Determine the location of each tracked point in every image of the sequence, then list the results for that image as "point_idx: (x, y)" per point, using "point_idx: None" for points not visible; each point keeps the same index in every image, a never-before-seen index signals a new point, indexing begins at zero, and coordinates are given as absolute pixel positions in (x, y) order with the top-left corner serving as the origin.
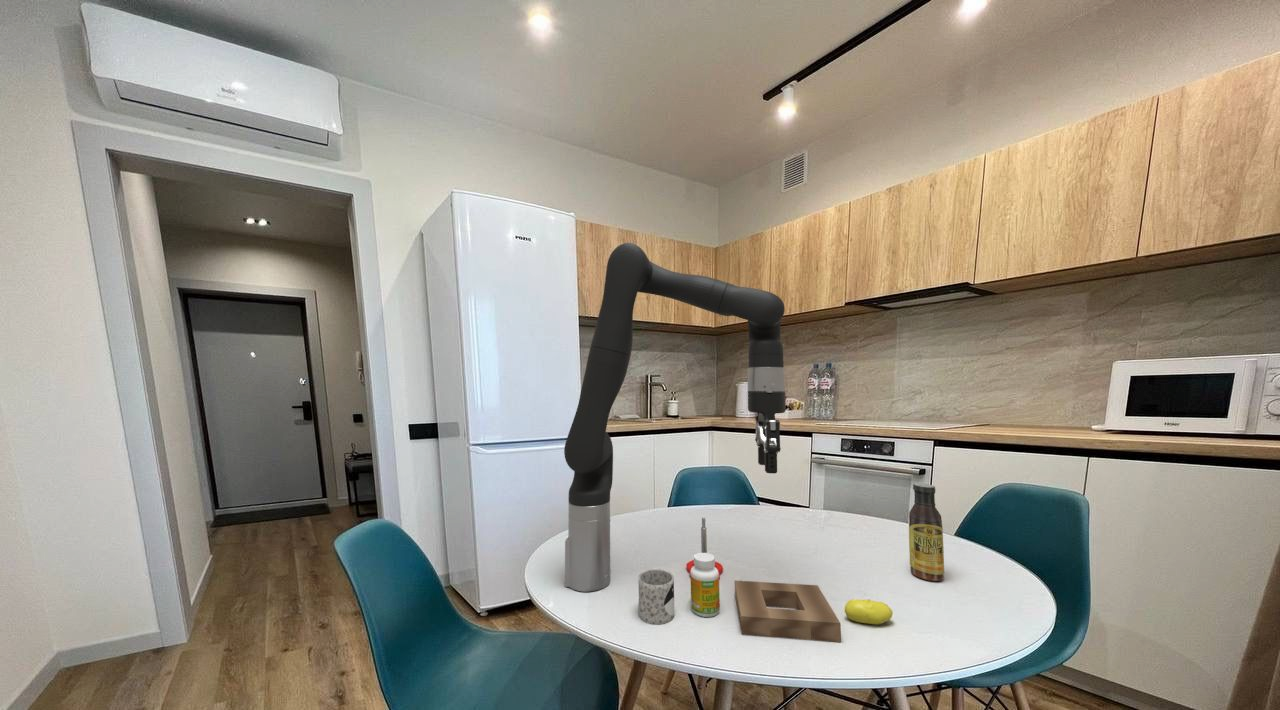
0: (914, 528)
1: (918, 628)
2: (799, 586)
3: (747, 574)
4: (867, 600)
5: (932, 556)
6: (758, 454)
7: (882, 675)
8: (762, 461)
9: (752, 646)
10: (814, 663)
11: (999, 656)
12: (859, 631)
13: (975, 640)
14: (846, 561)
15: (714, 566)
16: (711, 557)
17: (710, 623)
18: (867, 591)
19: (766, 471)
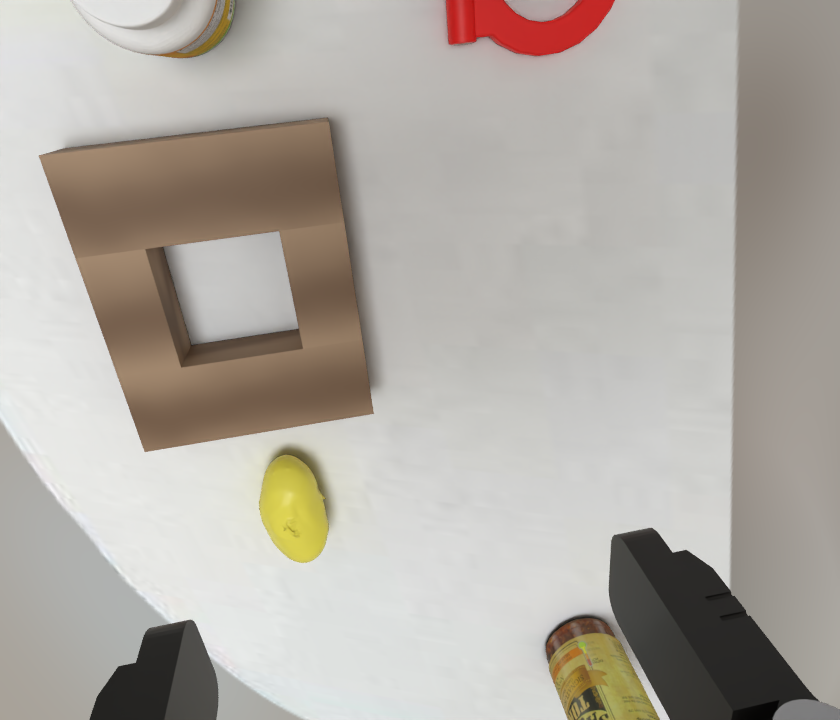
0: None
1: (299, 581)
2: (347, 360)
3: (519, 166)
4: (289, 530)
5: (565, 706)
6: (677, 618)
7: (53, 487)
8: (628, 584)
9: (13, 185)
10: (20, 353)
11: (237, 676)
12: (234, 468)
13: (285, 657)
14: (657, 486)
15: (567, 11)
16: (125, 7)
17: (85, 23)
18: (464, 512)
19: (146, 638)
